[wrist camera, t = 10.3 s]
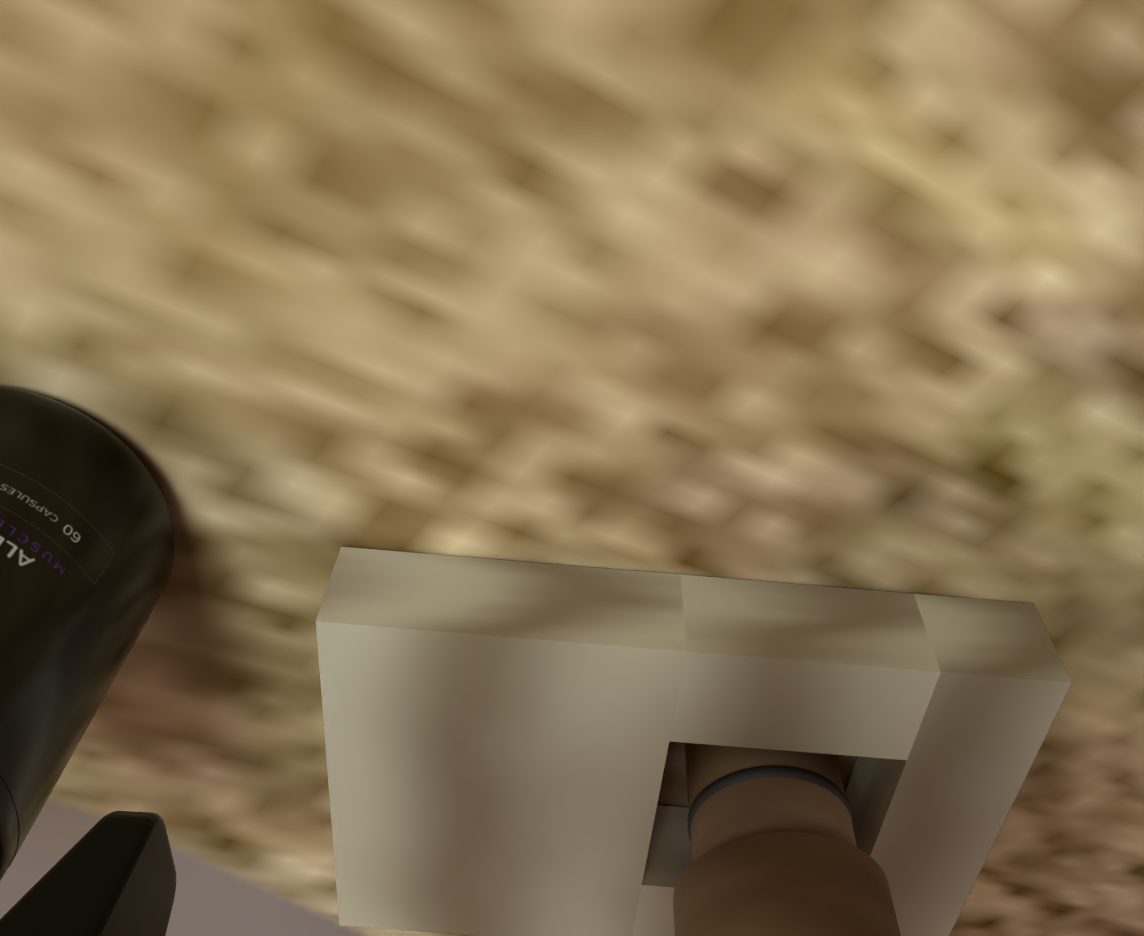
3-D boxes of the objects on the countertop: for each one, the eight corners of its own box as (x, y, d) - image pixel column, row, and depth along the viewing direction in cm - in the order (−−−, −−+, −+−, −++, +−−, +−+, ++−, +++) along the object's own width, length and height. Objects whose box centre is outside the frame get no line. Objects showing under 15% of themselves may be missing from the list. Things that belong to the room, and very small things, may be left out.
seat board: (1033, 603, 25) (1071, 682, 23) (911, 888, 31) (932, 970, 29) (340, 546, 24) (315, 621, 22) (358, 844, 31) (339, 925, 29)
